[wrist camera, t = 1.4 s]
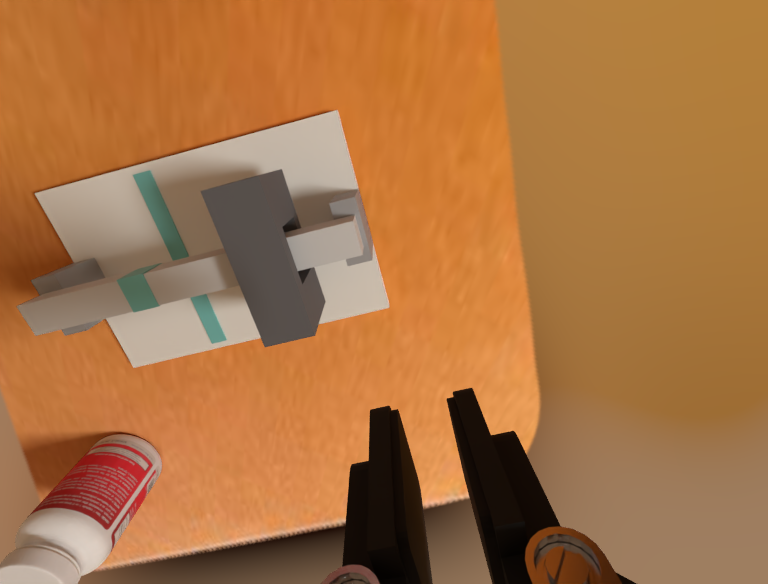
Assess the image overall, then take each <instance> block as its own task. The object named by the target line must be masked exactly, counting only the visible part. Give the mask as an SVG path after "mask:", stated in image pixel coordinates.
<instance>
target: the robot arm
mask: <svg viewBox="0 0 768 584" xmlns="http://www.w3.org/2000/svg"><path fill="white" fill-rule="evenodd" d="M453 396H454V397H452V398H448V399H447V403H448V408H449V412H450V416H451V421H452V425H453V430H454V434H455V438H456V443H457V447H458V451H459V456H460V460H461V465H462V469H463V473H464V477H465V481H466V485H467V489H468V493H469V497H470V500H471V504H472V508H473V512H474V515H475V519H476V523H477V526H478V531H479V534H480V538H481V542H482V546H483V549H484V553H485V557H486V561H487V565H488V568H489V572H490V576H491V580H492V584H636V583H634V582H632V581H631V580H629V579H627V578H625V577H623V576H621V575H619V574H618V573H616V572H615V571H614V569H613V568H612V566H611V564H610V563H609V561H608V559H607V558H606V556H605V554H604V553H603V552H602V551H601V549H600V548H599V547H598V545H597V544H596V543H595V542H593V541H592V540H591V539H590V538H588V537H587V536H586V535H584V534H582V533H580V532H578V531H576V530H574V529H571V528H566V527H561V526H560V524H559V522H558V520H557V518H556V516H555V514H554V511H553V509H552V507H551V505H550V503H549V501H548V499H547V497H546V495H545V493H544V491H543V489H542V487H541V484H540V483H539V480H538V478H537V476H536V474H535V472H534V470H533V468H532V466H531V464H530V462H529V459H528V457H527V455H526V453H525V451H524V449H523V447H522V445H521V443H520V441H519V439H518V437H517V435H516V433H515V432H514V431H511V432H506V433H501V434H496V435H490V432H489V429H488V427H487V424H486V422H485V419H484V417H483V414H482V412H481V409H480V406H479V404H478V401H477V399H476V396H475V394H474V391H473V389H472V388H468V389H464V390H459V391H455V392H453ZM321 584H433V583H432V577H431V568H430V560H429V552H428V544H427V537H426V529H425V521H424V513H423V505H422V497H421V490H420V485H419V480H418V477H417V473H416V470H415V466H414V463H413V459H412V456H411V452H410V449H409V445H408V442H407V438H406V435H405V431H404V428H403V424H402V421H401V417H400V414H399V411H398V409H397V410H392V411H391V408H390V406H385V407H381V408H376V409H372V410H370V433H369V461H366V462H361V463H356V464H352V465H351V468H350V477H349V489H348V502H347V515H346V527H345V541H344V553H343V565H342V567H341V568H338V569H337V570H336V571H334V572H332V573H331V574H329V575H328V576H327V578H326V579H325V580H324V581H323V582H322V583H321Z"/></svg>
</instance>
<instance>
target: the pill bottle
mask: <svg viewBox="0 0 768 584" xmlns="http://www.w3.org/2000/svg"><path fill="white" fill-rule="evenodd" d="M161 470H162V461H161V458H160V455H159V454H158V452H157V450H156V449H155V448H154V447H153V446H152V445H151V444H150V443H148V442H147V441H145V440H143V439H141V438H139V437H136V436H132V435H126V434H116V435H110V436H107V437H105V438H103V439H101V440H99V441H98V442H97V443H96V444H95V445H94V446H93V447H92V448H91V449H90V450H89V451H88V452H87V453H86V454H85V455H84V456H83V458H82V459H81V460H80V461H79V462H78V463H77V464H76V465H75V466H74V467H73V468H72V470H71V471H70V472H69V473H68V474H67V475H66V476H65V477H64V478H63V479H62V480H61V482H60V483H59V484H58V485H57V486H56V487H55V488H54V489H53V490H52V491H51V492H50V493H49V495H48V496H47V497H46V498H45V499H44V500H43V501H42V502H41V503H40V504H39V505H38V507H37V508H36V509H35V510H34V511H33V512H32V513H31V514H30V515H29V516H28V517H27V519H26V520H25V521H24V522H23V523H22V525H21V526H20V528H19V530H18V532H17V535H16V541H15V543H16V549H15V550H14V551H13V552H11V553H10V554H8V555H7V556H6V557H5V559H4V560H3V561H2V562H1V564H0V584H78V582H79V580H80V577H81V576H82V575H85V574H88V573H90V572H92V571H93V570H95V569H96V568H98V567H99V566H100V565H101V564H102V563H103V562H104V561H105V560H106V558H107V557H108V555H109V554H110V552H111V551H112V549H113V548H114V546H115V545H116V543H117V541H118V540H119V538H120V537H121V535H122V533H123V532H124V530H125V529H126V527H127V526H128V524H129V523H130V521H131V520H132V518H133V516H134V515H135V513H136V512H137V510H138V509H139V507H140V505H141V504H142V502H143V501H144V499H145V498H146V496H147V494H148V493H149V491H150V490H151V488H152V487H153V485H154V484H155V482H156V480H157V479H158V477H159V475H160V473H161Z"/></svg>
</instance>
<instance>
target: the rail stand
mask: <svg viewBox="0 0 768 584" xmlns="http://www.w3.org/2000/svg"><path fill="white" fill-rule="evenodd" d="M280 169H282V171H283V174H284V177H285V180H286V183H287V186H288V189H289V192H290V195H291V198H292V201H293V204H294V207H295V210H296V213H297V216H298V219H299V222H300V225H301V228H300V229H296V230H292V231H288V232H284V233H285V236H286V239H287V242H288V245H289V248H290V250H291V253H292V256H293V259H294V262H295V265H296V268H297V271H300V270H305V269H309V268H313V267H314V268H315V271H316V274H317V277H318V280H319V283H320V286H321V289H322V292H323V295H324V298H325V301H326V302H325V305H324V308H323V311H322V315H321V318H320V321H319V324H322V323H326V322H331V321H335V320H339V319H343V318H347V317H352V316H356V315H360V314H364V313H369V312H373V311H377V310H381V309H386V308H389V301H388V297H387V294H386V290H385V286H384V282H383V279H382V275H381V271H380V267H379V263H378V260H377V256H376V252H375V248H374V245H373V241H372V237H371V233H370V229H369V226H368V222H367V218H366V214H365V211H364V207H363V203H362V199H361V196H360V192H359V188H358V184H357V180H356V177H355V173H354V169H353V165H352V162H351V158H350V154H349V150H348V146H347V143H346V139H345V135H344V131H343V128H342V124H341V120H340V116H339V113H338V111H337V110H335V111H332V112H328V113H324V114H321V115H317V116H314V117H310V118H306V119H303V120H299V121H295V122H292V123H288V124H284V125H281V126H277V127H274V128H270V129H266V130H263V131H259V132H255V133H252V134H248V135H244V136H241V137H237V138H234V139H230V140H226V141H223V142H219V143H215V144H212V145H208V146H205V147H201V148H197V149H194V150H190V151H186V152H183V153H179V154H175V155H172V156H168V157H165V158H161V159H157V160H154V161H150V162H146V163H143V164H139V165H135V166H132V167H128V168H125V169H121V170H117V171H114V172H110V173H106V174H103V175H99V176H96V177H92V178H88V179H85V180H81V181H77V182H74V183H70V184H66V185H63V186H59V187H56V188H52V189H48V190H45V191H41V192H37V193H34V194H35V195H36V197H37V199H38V201H39V202H40V204H41V206H42V208H43V209H44V211H45V213H46V215H47V216H48V218H49V220H50V222H51V223H52V225H53V227H54V229H55V231H56V232H57V234H58V236H59V238H60V239H61V241H62V243H63V245H64V246H65V248H66V250H67V252H68V253H69V255H70V257H71V259H72V260H73V262H74V263H73V264H70V265H68V266H65V267H63V268H60V269H58V270H55V271H53V272H50V273H48V274H45V275H43V276H40V277H38V278H35V279H33V280H31V282H32V283H33V285H34V287H35V288H36V290H37V291H38V293H39V295H40V296H38V297H36V298H33V299H31V300H29V301H27V302H25V303H22V304H20V305H18V306H17V308H18V310H19V311H20V313H21V314H22V316H23V317H24V319H25V320H26V322H27V323H28V325H29V326H30V328H31V329H32V331H33V332H34V334H35V335H36V336H37V335H41V334H45V333H49V332H53V331H57V330H62V331H63V333H64V335H69V334H74V333H78V332H82V331H86V330H88V329H90V328H91V327H93V326H94V325H96V324H97V323H99V322H101V321H102V320H104V319H106V320H107V322H108V323H109V325H110V327H111V329H112V330H113V332H114V334H115V336H116V338H117V339H118V341H119V343H120V345H121V346H122V348H123V350H124V352H125V353H126V355H127V357H128V359H129V360H130V362H131V364H132V366H133V367H134V368H135V367H139V366H144V365H148V364H152V363H156V362H161V361H165V360H169V359H173V358H178V357H182V356H186V355H190V354H195V353H199V352H203V351H207V350H212V349H216V348H220V347H224V346H229V345H233V344H237V343H241V342H246V341H250V340H254V339H258V338H261V337H260V334H259V332H258V329H257V327H256V325H255V322H254V320H253V317H252V315H251V312H250V310H249V308H248V305H247V303H246V300H245V298H244V296H243V293H242V291H241V288H240V286H239V283H238V281H237V279H236V276H235V274H234V271H233V269H232V267H231V264H230V262H229V259H228V257H227V254H226V252H225V250H224V247H223V245H222V242H221V240H220V238H219V235H218V233H217V230H216V228H215V225H214V223H213V221H212V218H211V216H210V213H209V211H208V209H207V206H206V204H205V201H204V199H203V196H202V194H201V192H200V191H203V190H206V189H210V188H213V187H217V186H220V185H224V184H227V183H231V182H235V181H238V180H242V179H246V178H250V177H253V176H257V175H261V174H265V173H268V172H272V171H276V170H280Z"/></svg>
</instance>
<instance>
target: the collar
mask: <svg viewBox="0 0 768 584" xmlns="http://www.w3.org/2000/svg"><path fill="white" fill-rule="evenodd" d="M200 192H201V194H202V196H203V199H204V201H205V204H206V206H207V209H208V211H209V213H210V216H211V218H212V221H213V223H214V225H215V228H216V230H217V233H218V235H219V238H220V240H221V242H222V245H223V247H224V250H225V252H226V254H227V257H228V259H229V262H230V264H231V267H232V269H233V271H234V274H235V276H236V279H237V281H238V283H239V286H240V288H241V291H242V293H243V296H244V298H245V300H246V303H247V305H248V308H249V310H250V312H251V315H252V317H253V320H254V322H255V325H256V327H257V329H258V332H259V334H260V337H261V339H262V341H263V344H264V346H265V347H268V346H272V345H277V344H281V343H285V342H289V341H294V340H298V339H302V338H307V337H311V336H315V334H316V331H317V327H318V324H319V321H320V318H321V315H322V311H323V308H324V305H325V302H326V301H325V298H324V295H323V292H322V289H321V286H320V283H319V280H318V277H317V274H316V271H315V268H314V267H313V268H309V269H305V270H300V271H297V268H296V265H295V262H294V259H293V256H292V253H291V250H290V248H289V245H288V242H287V239H286V236H285V233H284V232H288V231H292V230H296V229H300V228H301V225H300V222H299V219H298V216H297V213H296V210H295V207H294V204H293V201H292V198H291V195H290V192H289V189H288V186H287V183H286V180H285V177H284V174H283V171H282V169H280V170H276V171H272V172H268V173H265V174H261V175H257V176H253V177H250V178H246V179H242V180H238V181H235V182H231V183H227V184H224V185H220V186H217V187H213V188H210V189H206V190H203V191H200Z"/></svg>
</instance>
